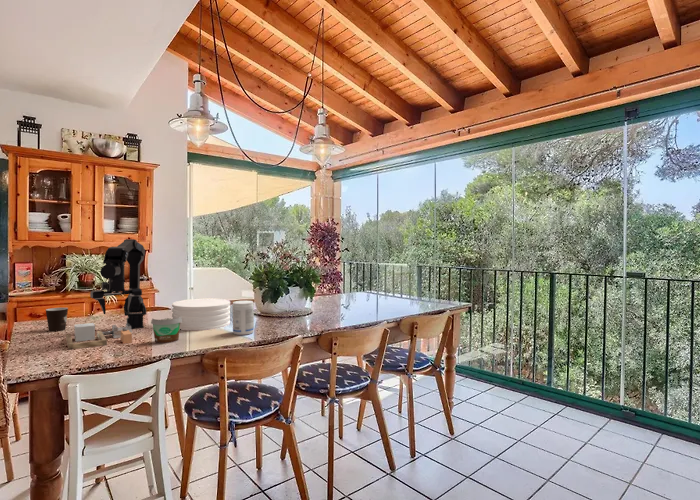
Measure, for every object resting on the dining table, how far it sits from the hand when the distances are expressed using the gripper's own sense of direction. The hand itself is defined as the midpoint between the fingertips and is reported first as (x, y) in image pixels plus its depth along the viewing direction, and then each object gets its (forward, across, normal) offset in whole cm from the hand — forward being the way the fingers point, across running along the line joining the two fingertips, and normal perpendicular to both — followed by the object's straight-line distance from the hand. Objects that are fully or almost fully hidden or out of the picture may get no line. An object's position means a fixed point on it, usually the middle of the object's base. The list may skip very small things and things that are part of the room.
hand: (116, 313), depth 178 cm
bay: (+12, +10, -5) cm, 16 cm away
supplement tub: (+12, -48, +21) cm, 54 cm away
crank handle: (+12, -3, +4) cm, 13 cm away
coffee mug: (+12, +15, -39) cm, 44 cm away
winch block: (+12, -2, -8) cm, 15 cm away
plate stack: (+12, -41, -10) cm, 44 cm away
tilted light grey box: (+12, +10, -11) cm, 19 cm away
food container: (+12, -16, +16) cm, 25 cm away
